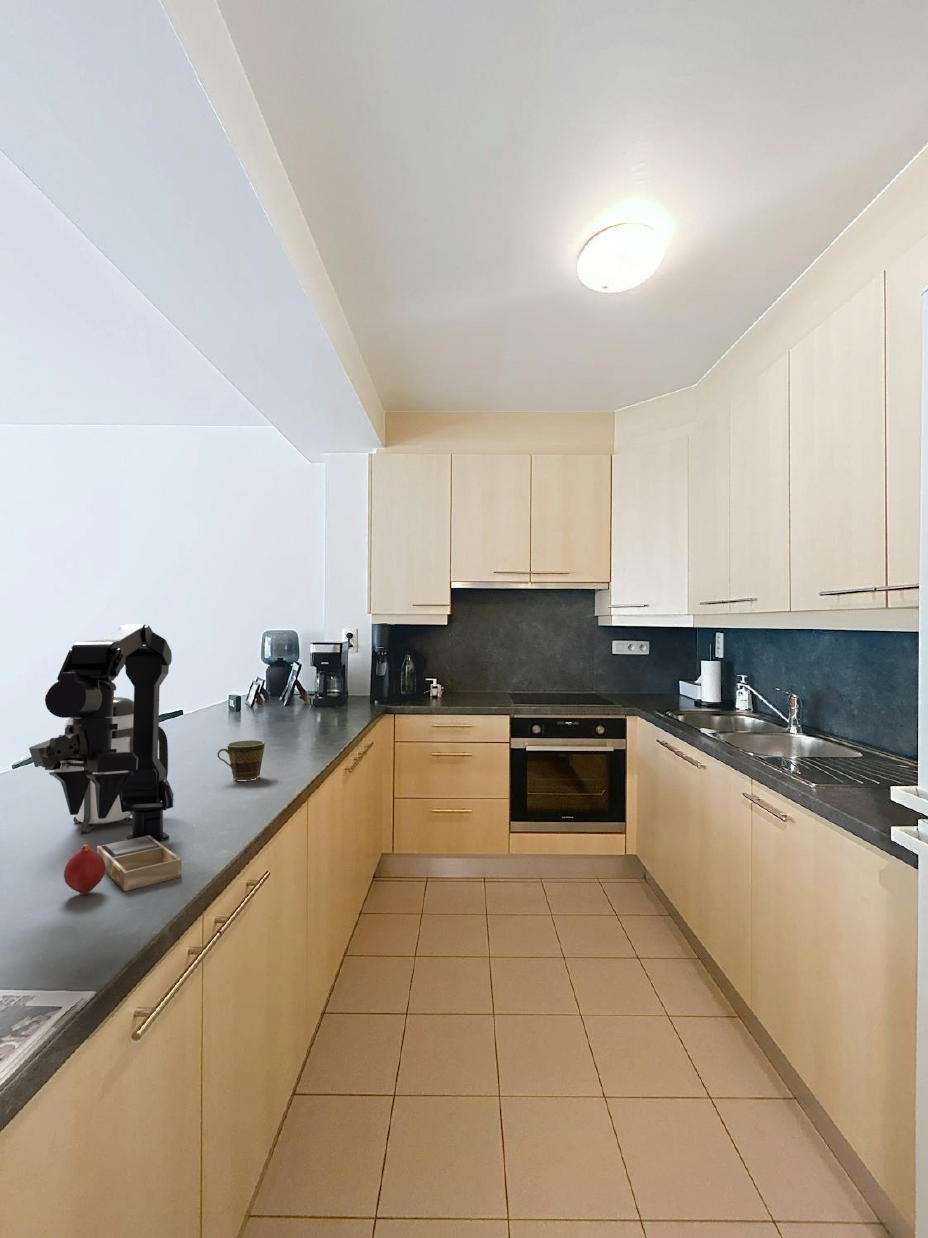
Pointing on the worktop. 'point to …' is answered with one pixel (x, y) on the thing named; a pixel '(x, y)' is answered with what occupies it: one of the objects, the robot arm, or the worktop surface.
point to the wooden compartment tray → (139, 862)
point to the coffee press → (122, 743)
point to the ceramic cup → (245, 758)
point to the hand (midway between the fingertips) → (87, 816)
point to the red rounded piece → (84, 870)
